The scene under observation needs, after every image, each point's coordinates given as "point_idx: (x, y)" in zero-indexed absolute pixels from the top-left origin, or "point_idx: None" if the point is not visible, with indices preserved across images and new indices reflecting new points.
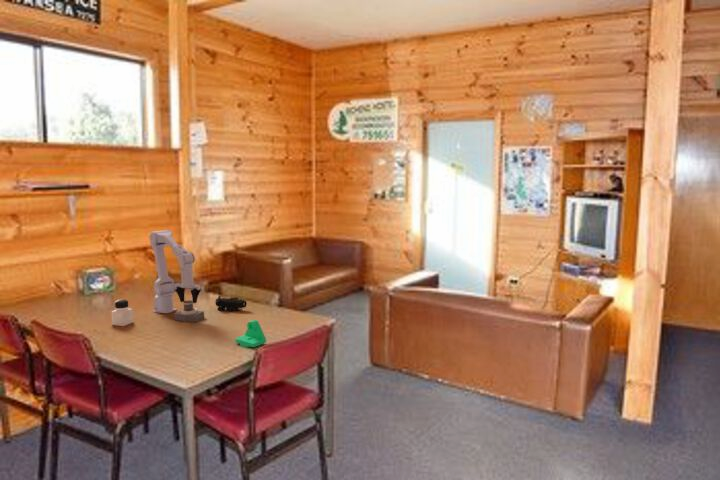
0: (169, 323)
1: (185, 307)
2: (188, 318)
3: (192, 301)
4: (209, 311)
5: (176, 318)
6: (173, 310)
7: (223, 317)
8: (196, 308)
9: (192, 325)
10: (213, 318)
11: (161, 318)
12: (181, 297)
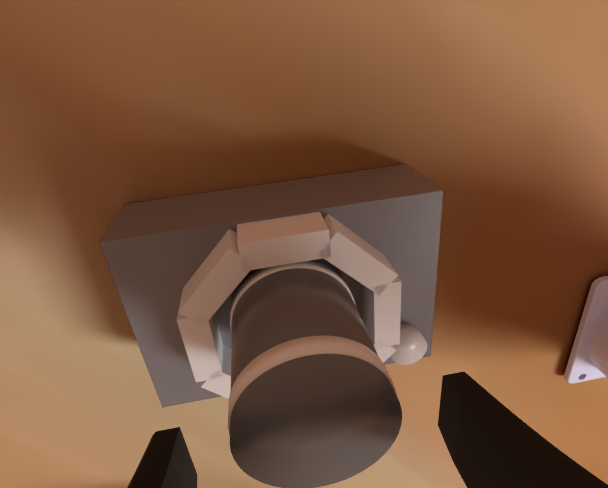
0: (382, 25)
1: (298, 302)
2: (210, 206)
3: (247, 467)
4: None
5: (390, 174)
6: (577, 347)
7: (17, 435)
8: None
9: (23, 92)
10: (72, 379)
11: (582, 144)
12: (498, 463)
